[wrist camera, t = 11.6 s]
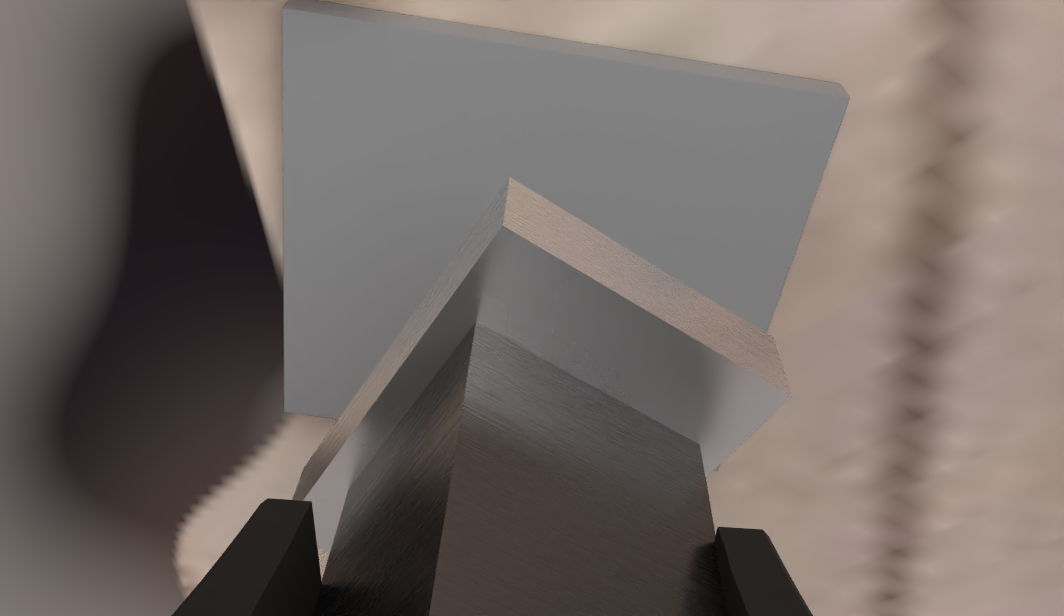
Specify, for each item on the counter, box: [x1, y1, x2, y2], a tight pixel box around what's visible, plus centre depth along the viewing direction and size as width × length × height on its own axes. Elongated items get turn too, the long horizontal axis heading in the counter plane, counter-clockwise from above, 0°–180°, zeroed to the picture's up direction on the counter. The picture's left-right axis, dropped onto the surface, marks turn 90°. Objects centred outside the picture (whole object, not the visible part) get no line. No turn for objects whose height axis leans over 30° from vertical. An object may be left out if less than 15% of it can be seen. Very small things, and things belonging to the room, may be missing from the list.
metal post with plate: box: [293, 177, 792, 616], centre depth 12 cm, size 5×7×8 cm
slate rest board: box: [282, 0, 850, 471], centre depth 20 cm, size 11×10×1 cm
